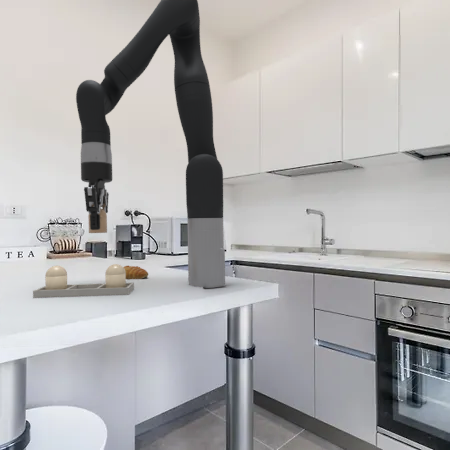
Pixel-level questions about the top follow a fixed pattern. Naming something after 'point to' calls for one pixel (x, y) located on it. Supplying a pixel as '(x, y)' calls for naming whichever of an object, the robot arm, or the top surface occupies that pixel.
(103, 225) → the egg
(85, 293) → the carton
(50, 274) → the egg
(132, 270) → the pastry
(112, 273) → the egg
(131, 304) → the top surface
